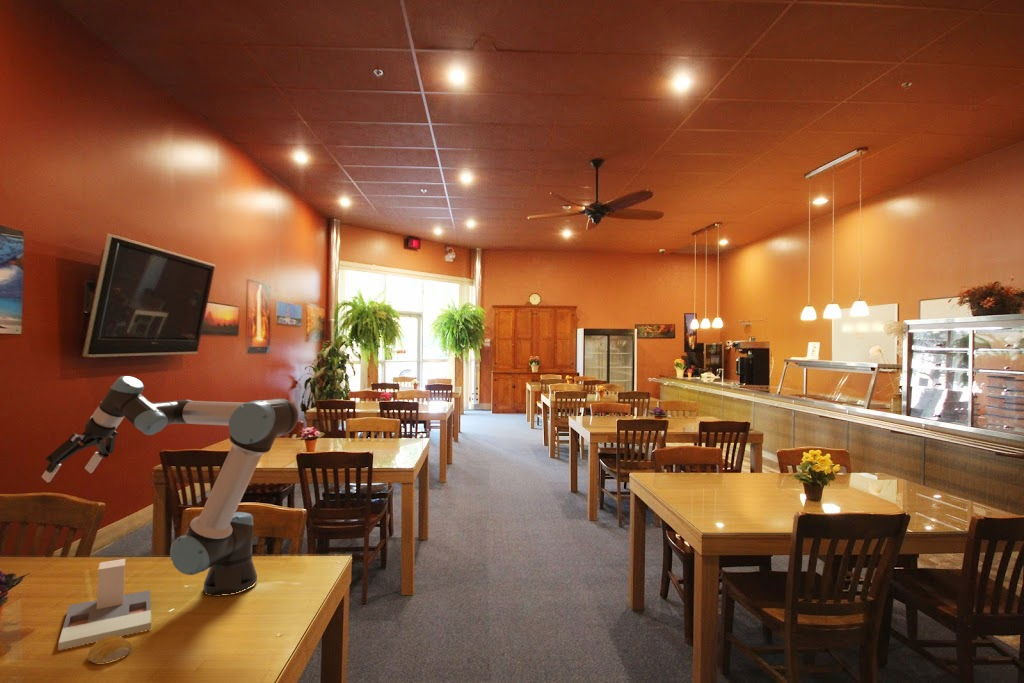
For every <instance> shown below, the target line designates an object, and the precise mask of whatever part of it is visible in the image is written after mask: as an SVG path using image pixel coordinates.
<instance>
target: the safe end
mask: <svg viewBox="0 0 1024 683" xmlns="http://www.w3.org/2000/svg"><path fill="white" fill-rule="evenodd" d="M150 629H151V630H152V609H151V610H149V611H144V612H139V613H134V614H129V615H125V616H120V617H115V618H110V619H105V620H100V621H96V622H91V623H86V624H81V625H76V626H72V627H67V628H63V627H62V630H61V633H60V636H59V640H58V646H57V651H58V650H61V651H63V650H62V649H65V650H69V649H68V648H70V649H73V648H72V647H74V648H76V647H75V646H79V645H82V644H87V643H90V642H96V641H100V640H101V639H104V638H106V637H110V636H123V637H125V636H124V635H127V636H130V635H129V634H132V635H134V634H133V633H136V634H139V633H138V632H141V631H145V630H149V631H151V630H150ZM145 632H146V631H145ZM141 633H142V632H141ZM96 643H97V642H96ZM87 645H88V644H87ZM79 647H80V646H79Z"/></svg>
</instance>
